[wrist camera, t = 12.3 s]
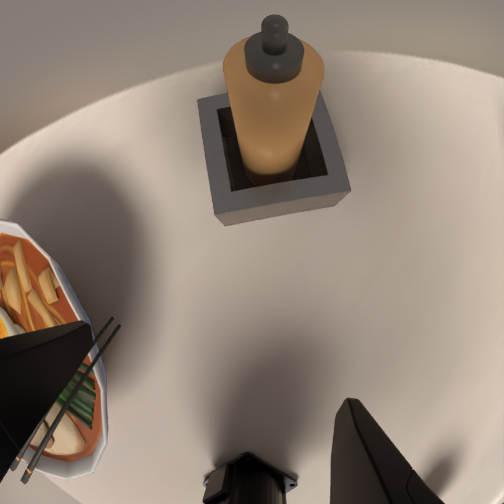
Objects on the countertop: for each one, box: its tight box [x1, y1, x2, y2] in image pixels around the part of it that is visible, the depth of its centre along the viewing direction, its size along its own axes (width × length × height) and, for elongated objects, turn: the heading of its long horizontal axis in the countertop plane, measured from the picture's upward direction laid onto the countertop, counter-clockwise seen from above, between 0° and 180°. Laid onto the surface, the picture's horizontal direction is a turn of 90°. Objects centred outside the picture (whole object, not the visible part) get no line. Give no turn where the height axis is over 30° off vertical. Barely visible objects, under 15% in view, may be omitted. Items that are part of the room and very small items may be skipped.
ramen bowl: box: [0, 219, 121, 484], centre depth 17 cm, size 25×23×8 cm
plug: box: [223, 15, 324, 187], centre depth 14 cm, size 4×4×15 cm
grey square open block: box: [197, 89, 351, 226], centre depth 19 cm, size 8×8×4 cm
